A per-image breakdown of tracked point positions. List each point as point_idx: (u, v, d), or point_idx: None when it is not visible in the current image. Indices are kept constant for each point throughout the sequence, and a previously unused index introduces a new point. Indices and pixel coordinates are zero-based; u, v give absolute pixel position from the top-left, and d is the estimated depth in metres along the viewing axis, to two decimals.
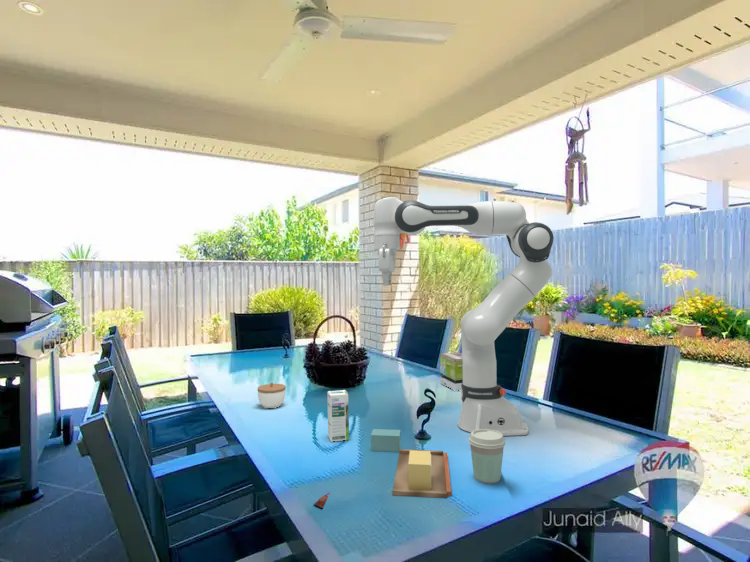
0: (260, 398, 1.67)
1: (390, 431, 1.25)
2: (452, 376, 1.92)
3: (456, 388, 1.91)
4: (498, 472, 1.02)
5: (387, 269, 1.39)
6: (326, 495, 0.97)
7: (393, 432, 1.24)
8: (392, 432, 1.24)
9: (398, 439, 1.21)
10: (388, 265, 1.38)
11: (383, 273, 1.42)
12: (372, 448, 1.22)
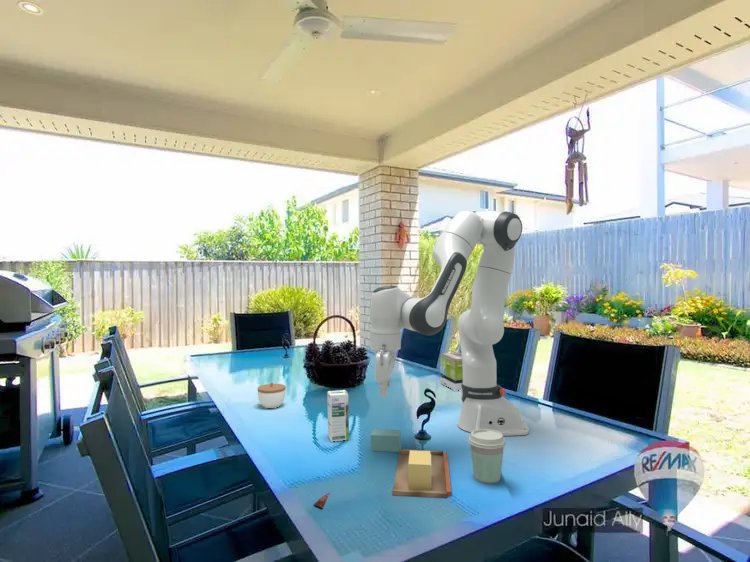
0: (260, 398, 1.67)
1: (390, 431, 1.25)
2: (452, 376, 1.92)
3: (456, 388, 1.91)
4: (498, 472, 1.02)
5: (385, 380, 1.14)
6: (326, 495, 0.97)
7: (393, 432, 1.24)
8: (392, 432, 1.24)
9: (398, 439, 1.21)
10: (386, 376, 1.14)
11: (380, 382, 1.18)
12: (372, 448, 1.22)
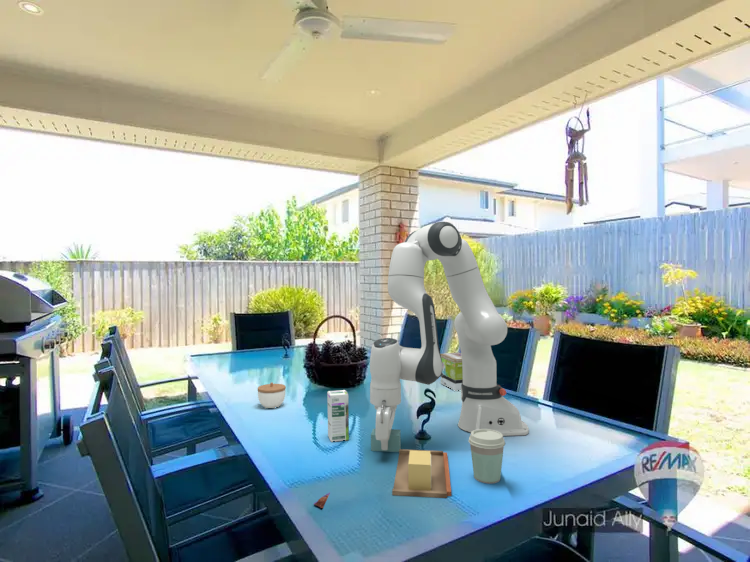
0: (260, 398, 1.67)
1: None
2: (452, 376, 1.92)
3: (456, 388, 1.91)
4: (498, 472, 1.02)
5: (386, 439, 1.14)
6: (326, 495, 0.97)
7: (393, 432, 1.24)
8: (392, 432, 1.24)
9: (398, 439, 1.21)
10: (387, 434, 1.14)
11: None
12: (372, 448, 1.22)
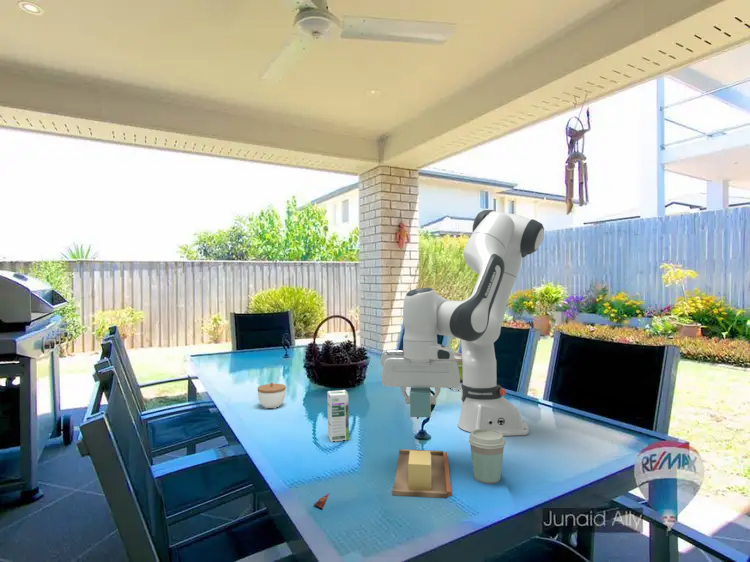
0: (260, 398, 1.67)
1: (423, 390, 1.12)
2: None
3: (456, 388, 1.91)
4: (498, 472, 1.02)
5: (382, 383, 1.13)
6: (326, 495, 0.97)
7: (420, 391, 1.11)
8: (420, 391, 1.11)
9: (410, 396, 1.10)
10: (382, 379, 1.13)
11: None
12: None
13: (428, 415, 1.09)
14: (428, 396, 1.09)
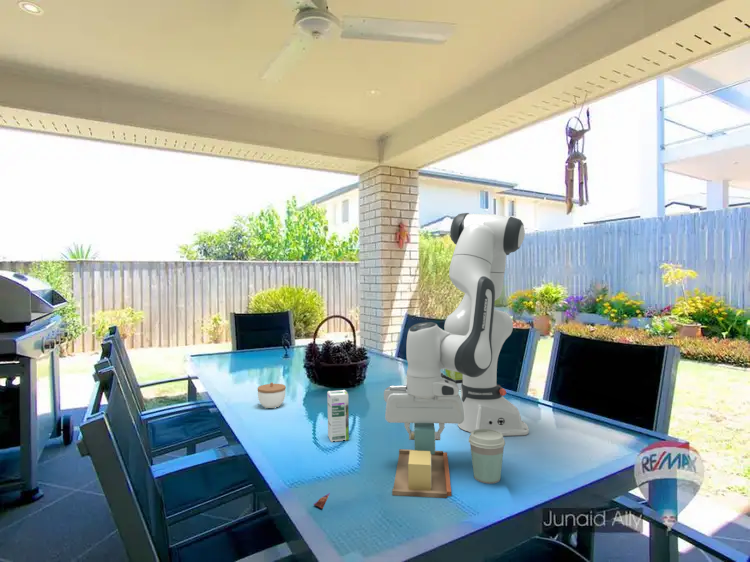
0: (260, 398, 1.67)
1: (427, 426, 1.11)
2: (452, 376, 1.92)
3: None
4: (498, 472, 1.02)
5: (386, 419, 1.12)
6: (326, 496, 0.97)
7: (425, 427, 1.10)
8: (424, 427, 1.11)
9: (414, 433, 1.09)
10: (385, 415, 1.12)
11: None
12: None
13: (433, 452, 1.08)
14: (433, 433, 1.08)
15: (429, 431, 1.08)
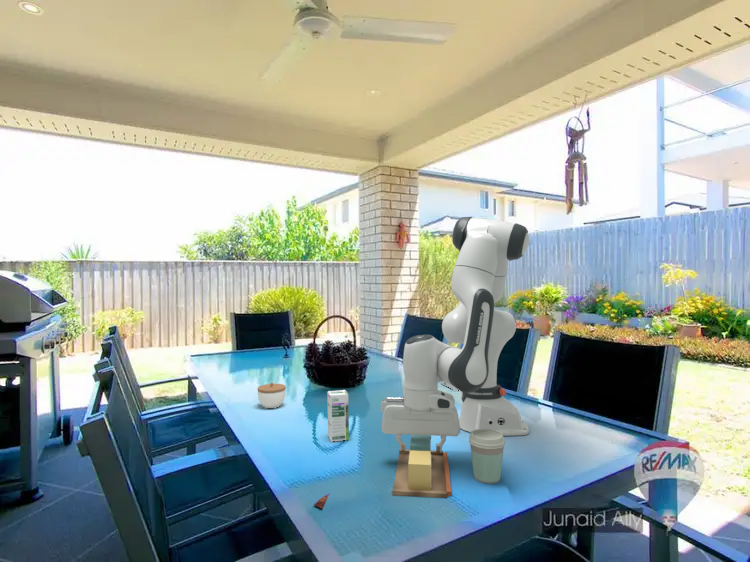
0: (260, 398, 1.67)
1: (423, 441, 1.12)
2: None
3: (456, 388, 1.91)
4: (498, 472, 1.02)
5: None
6: (326, 496, 0.97)
7: (421, 443, 1.11)
8: (420, 442, 1.12)
9: (410, 448, 1.10)
10: (382, 426, 1.13)
11: None
12: None
13: None
14: (428, 449, 1.09)
15: (425, 447, 1.09)
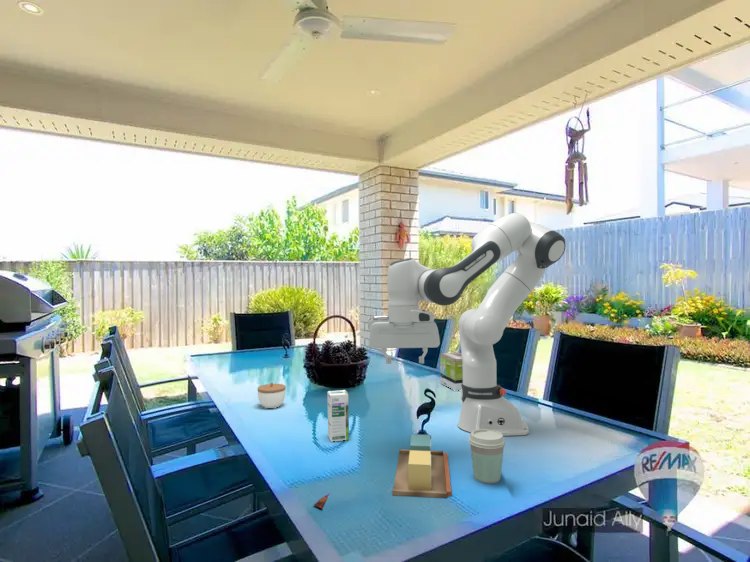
0: (260, 398, 1.67)
1: (423, 441, 1.12)
2: (452, 376, 1.92)
3: (456, 388, 1.91)
4: (498, 472, 1.02)
5: (370, 346, 1.25)
6: (326, 496, 0.97)
7: (421, 443, 1.11)
8: (420, 442, 1.12)
9: (410, 448, 1.10)
10: (369, 342, 1.25)
11: None
12: None
13: None
14: (428, 449, 1.09)
15: (425, 447, 1.09)
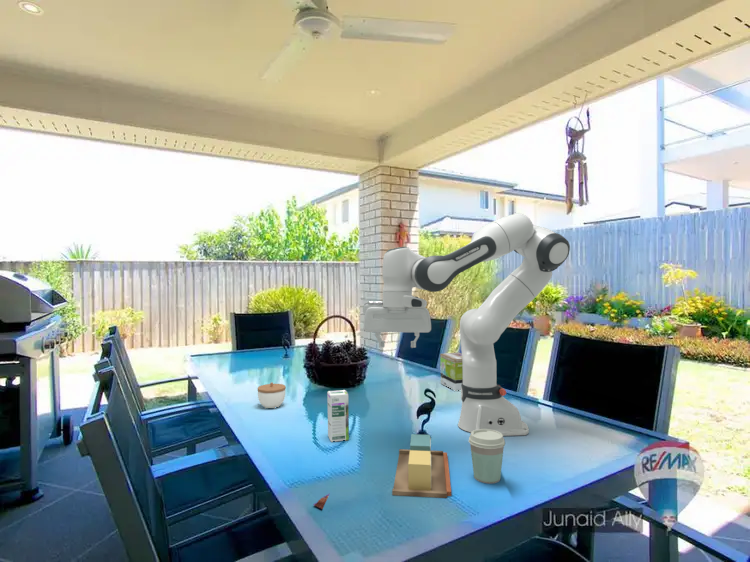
0: (260, 398, 1.67)
1: (423, 441, 1.12)
2: (452, 376, 1.92)
3: (456, 388, 1.91)
4: (498, 472, 1.02)
5: None
6: (326, 496, 0.97)
7: (421, 443, 1.11)
8: (420, 442, 1.12)
9: (410, 448, 1.10)
10: (364, 325, 1.30)
11: None
12: None
13: None
14: (428, 449, 1.09)
15: (425, 447, 1.09)
